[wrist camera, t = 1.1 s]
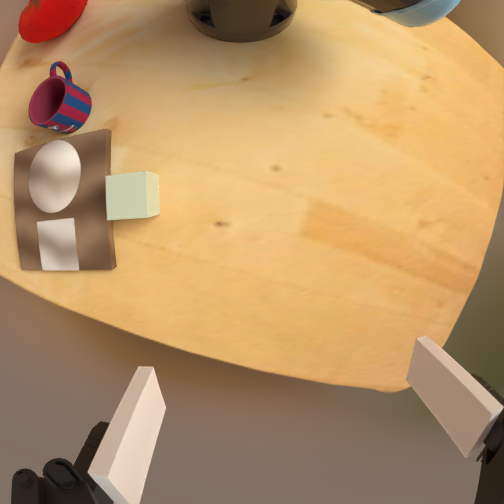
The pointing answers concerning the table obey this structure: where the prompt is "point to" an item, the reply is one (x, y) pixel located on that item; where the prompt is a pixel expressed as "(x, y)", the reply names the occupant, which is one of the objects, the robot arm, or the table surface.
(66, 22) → the tomato
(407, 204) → the table surface
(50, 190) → the board
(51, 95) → the mug
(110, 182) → the pale sage green cube
